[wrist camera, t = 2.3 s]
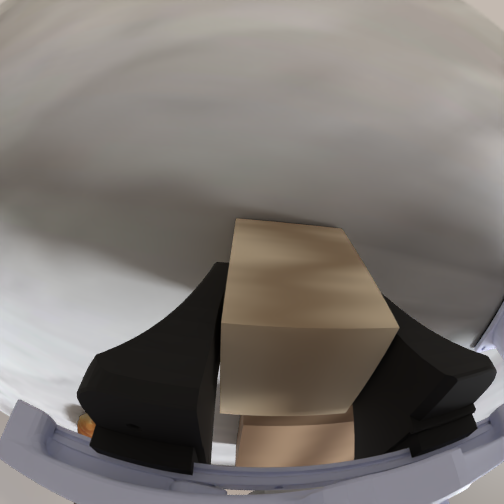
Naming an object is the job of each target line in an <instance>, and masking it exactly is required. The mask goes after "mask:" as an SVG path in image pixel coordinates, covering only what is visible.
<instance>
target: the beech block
mask: <svg viewBox="0 0 504 504" xmlns="http://www.w3.org/2000/svg"><path fill="white" fill-rule="evenodd" d="M399 328H400V327H399V326H398V324H397V322H396V320H395V318H394V316H393V314H392V312H391V310H390V309H389V307H388V305H387V303H386V301H385V299H384V298H383V296H382V294H381V292H380V290H379V289H378V287H377V285H376V283H375V282H374V280H373V278H372V277H371V275H370V273H369V271H368V270H367V268H366V266H365V265H364V263H363V261H362V260H361V258H360V257H359V255H358V253H357V252H356V250H355V248H354V247H353V245H352V244H351V242H350V240H349V239H348V237H347V236H346V234H345V233H344V231H343V230H342V229H340V228H331V227H322V226H313V225H303V224H293V223H283V222H272V221H261V220H250V219H238V218H236V222H235V228H234V235H233V242H232V249H231V256H230V262H229V269H228V277H227V284H226V291H225V298H224V306H223V313H222V321H221V353H220V413H222V414H235V415H254V416H308V415H327V414H339V413H346V411H347V410H348V409H349V407H350V406H351V404H352V403H353V402H354V400H355V399H356V397H357V396H358V395H359V393H360V392H361V390H362V389H363V387H364V386H365V384H366V383H367V381H368V380H369V378H370V377H371V375H372V374H373V372H374V371H375V369H376V367H377V366H378V364H379V363H380V361H381V359H382V358H383V356H384V354H385V353H386V351H387V349H388V347H389V346H390V344H391V342H392V340H393V339H394V337H395V335H396V333H397V331H398V330H399Z"/></svg>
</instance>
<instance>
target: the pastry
mask: <svg viewBox="0 0 504 504" xmlns="http://www.w3.org/2000/svg"><path fill="white" fill-rule="evenodd" d="M77 426H78V433H79V434H82V435H84V436H87V437H90V438H92V435H93V432H94V429H95V426H96V424H95V423H94V422H93V420H92V419H91V418H90V417H89V415H88V414H87V413H85V414H83V415H81V416H80V417H79V421H78V424H77Z"/></svg>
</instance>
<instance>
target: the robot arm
mask: <svg viewBox="0 0 504 504" xmlns="http://www.w3.org/2000/svg"><path fill="white" fill-rule="evenodd" d="M228 269H229V263H223V262H217V263H215V264H214V265H213V267H212V269H211V270H210V272H209V273H208V274H207V276H206V277H205V278H204V279H203V281H202V282H201V283H200V284H199V285H198V287H197V288H196V289H195V290H194V291H193V292H192V293H191V294H190V295H189V296H188V297H187V298H186V299H185V300H184V302H183V303H181V304H180V305H179V306H178V307H177V308H176V309H175V310H174V311H173V312H171V313H170V314H169V315H168V316H167V317H165V318H164V319H163V320H161V321H160V322H158V323H157V324H156V325H154V326H153V327H151V328H150V329H148V330H147V331H145V332H144V333H142V334H140V335H138V336H137V337H135V338H133V339H131V340H129V341H127V342H125V343H123V344H121V345H119V346H117V347H114V348H112V349H109V350H107V351H105V352H102V353H100V354H97V355H96V356H95V357H94V359H93V361H92V362H91V364H90V365H89V367H88V369H87V371H86V373H85V375H84V377H83V380H82V382H81V384H80V386H79V389H78V391H77V399H78V401H79V403H80V404H81V406H82V408H83V409H84V410H85V412H86V413H87V414H88V415H89V417H90V418H91V419H92V420H93V422H94V423H95V424H96V426H95V429H94V432H93V435H92V438H90V437H87V436H84V435H82V434H79V433H76V432H74V431H71V430H69V429H66V428H64V427H61V426H59V425H57V424H56V422H55V421H54V420H53V419H52V418H51V417H50V416H49V415H48V414H46V413H45V412H44V411H42V410H40V409H38V408H36V407H34V406H32V405H30V404H28V403H26V402H24V401H22V400H18V401H17V403H16V405H15V407H14V409H13V411H12V413H11V415H10V418H9V420H8V422H7V424H6V427H5V429H4V432H3V434H2V436H1V439H0V459H1V460H2V461H4V462H5V463H7V464H8V465H9V466H11V467H12V468H14V469H15V470H17V471H18V472H20V473H22V474H23V475H25V476H26V477H28V478H30V479H31V480H33V481H34V482H36V483H38V484H39V485H41V486H43V487H45V488H47V489H49V490H50V491H52V492H54V493H56V494H58V495H60V496H62V497H64V498H66V499H68V500H70V501H72V502H74V503H76V504H449V498H451V497H453V496H455V495H456V494H458V493H460V492H462V491H464V490H465V489H467V488H468V487H469V486H470V484H471V483H472V482H474V481H476V480H477V479H479V478H480V477H482V476H483V475H485V474H487V473H488V472H489V471H491V470H492V469H494V468H495V467H496V466H498V465H499V464H501V463H502V462H504V404H502V405H501V406H499V407H498V408H497V409H496V410H495V411H494V412H493V413H492V414H491V415H490V416H489V417H488V418H486V419H484V420H481V421H479V422H477V423H476V422H475V420H474V418H473V415H472V413H474V412H475V410H476V408H475V406H474V404H473V403H474V402H475V401H476V400H477V399H478V398H479V397H480V396H481V395H482V394H483V393H484V392H485V391H486V390H487V388H488V387H489V386H490V385H491V384H492V382H493V380H494V379H495V376H496V373H497V372H496V369H495V367H494V365H493V363H492V362H491V360H490V359H489V357H488V356H486V355H483V354H481V353H478V352H482V351H486V350H490V349H494V348H496V349H497V350H498V352H499V353H500V355H501V357H502V358H503V360H504V302H503V303H502V305H501V307H500V309H499V311H498V312H497V314H496V316H495V317H494V319H493V321H492V322H491V324H490V325H489V327H488V329H487V330H486V332H485V333H484V335H483V336H482V338H481V339H480V341H479V342H478V344H477V345H476V347H475V351H476V352H475V351H472V350H469V349H467V348H464V347H462V346H460V345H458V344H455V343H453V342H451V341H449V340H447V339H445V338H443V337H442V336H440V335H438V334H436V333H435V332H433V331H431V330H429V329H428V328H426V327H425V326H423V325H422V324H420V323H419V322H417V321H416V320H414V319H413V318H412V317H410V316H409V315H408V314H406V313H405V312H404V311H402V310H401V309H400V308H399V307H397V306H396V305H395V304H394V303H393V302H391V301H390V300H389V299H388V298H387V297H385V296H384V295H383V294H382V293H381V294H382V296H383V298H384V299H385V301H386V303H387V305H388V307H389V309H390V310H391V312H392V314H393V316H394V318H395V320H396V322H397V324H398V326H399V327H400V328H399V330H398V331H397V333H396V335H395V337H394V339H393V340H392V342H391V344H390V346H389V347H388V349H387V351H386V353H385V354H384V356H383V358H382V359H381V361H380V363H379V364H378V366H377V367H376V369H375V371H374V372H373V374H372V375H371V377H370V378H369V380H368V381H367V383H366V384H365V386H364V387H363V389H362V390H361V392H360V393H359V395H358V396H357V397H356V399H355V400H354V402H353V403H352V406H353V417H354V460H351V461H345V462H338V463H330V464H321V465H311V466H296V467H236V466H221V465H211V451H212V436H213V423H214V411H215V399H216V388H217V378H218V371H219V366H220V353H221V321H222V313H223V306H224V298H225V291H226V284H227V277H228ZM324 486H325V487H324ZM315 487H322V488H318V489H311V490H303V491H295V492H286V493H274V494H257V495H227V491H226V490H224V489H231V490H291V489H305V488H315Z"/></svg>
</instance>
